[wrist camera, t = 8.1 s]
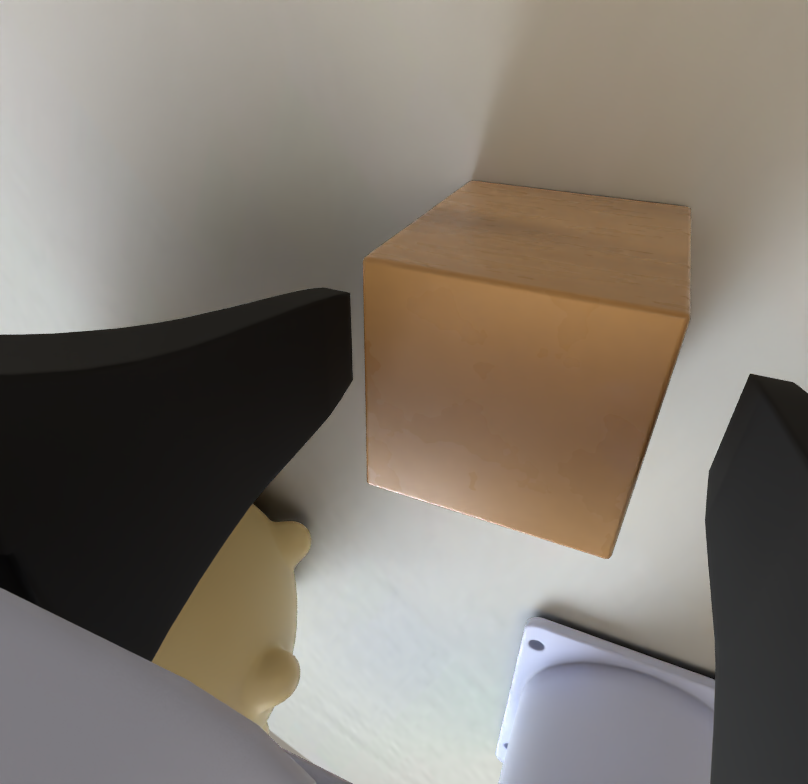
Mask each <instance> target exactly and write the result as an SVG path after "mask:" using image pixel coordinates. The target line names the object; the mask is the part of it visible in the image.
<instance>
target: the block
mask: <svg viewBox="0 0 808 784" xmlns="http://www.w3.org/2000/svg"><path fill="white" fill-rule="evenodd" d="M363 297H364V349H365V401H366V453H367V482H368V483H369V484H370V485H373V486H376V487H379V488H383V489H386V490H389V491H392V492H395V493H398V494H402V495H405V496H408V497H411V498H414V499H417V500H421V501H424V502H427V503H430V504H433V505H436V506H440V507H443V508H446V509H449V510H452V511H455V512H459V513H462V514H465V515H468V516H471V517H475V518H478V519H481V520H484V521H487V522H490V523H494V524H497V525H500V526H503V527H506V528H509V529H513V530H516V531H519V532H522V533H525V534H528V535H532V536H535V537H538V538H541V539H544V540H548V541H551V542H554V543H557V544H560V545H563V546H567V547H570V548H573V549H576V550H579V551H582V552H586V553H589V554H592V555H595V556H598V557H601V558H605V559H609V558H610V557H611V556H612V553H613V550H614V547H615V544H616V541H617V538H618V535H619V532H620V529H621V526H622V523H623V520H624V517H625V514H626V511H627V508H628V505H629V502H630V499H631V496H632V493H633V490H634V487H635V484H636V481H637V478H638V475H639V472H640V469H641V466H642V463H643V460H644V457H645V454H646V451H647V448H648V445H649V442H650V439H651V436H652V433H653V430H654V427H655V424H656V421H657V418H658V415H659V412H660V409H661V406H662V403H663V400H664V397H665V394H666V391H667V388H668V385H669V382H670V379H671V376H672V373H673V370H674V367H675V364H676V361H677V358H678V355H679V352H680V349H681V346H682V343H683V340H684V337H685V334H686V331H687V328H688V325H689V322H690V303H691V208H689V207H685V206H677V205H669V204H661V203H653V202H644V201H636V200H628V199H620V198H611V197H603V196H595V195H587V194H578V193H570V192H562V191H554V190H546V189H537V188H529V187H521V186H513V185H504V184H496V183H488V182H480V181H469V182H468V183H466V184H465V185H464V186H462V187H461V188H460V189H458V190H457V191H455V192H454V193H453V194H451V195H450V196H448V197H447V198H446V199H444V200H443V201H441V202H440V203H439V204H437V205H436V206H435V207H433V208H432V209H430V210H429V211H428V212H426V213H425V214H423V215H422V216H421V217H419V218H418V219H417V220H415V221H414V222H412V223H411V224H410V225H408V226H407V227H405V228H404V229H403V230H401V231H400V232H399V233H397V234H396V235H394V236H393V237H392V238H390V239H389V240H387V241H386V242H385V243H383V244H382V245H381V246H379V247H378V248H376V249H375V250H374V251H372V252H371V253H369V254H368V255H367V256H365V257H364V260H363Z"/></svg>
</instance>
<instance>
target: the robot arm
mask: <svg viewBox="0 0 808 784" xmlns="http://www.w3.org/2000/svg"><path fill="white" fill-rule="evenodd" d="M352 380H353V372H352V338H351V304H350V293H348V292H343V291H338V290H333V289H328V288H313V289H307V290H301V291H296V292H292V293H287V294H283V295H279V296H275V297H271V298H267V299H263V300H259V301H255V302H251V303H247V304H243V305H239V306H235V307H231V308H227V309H222V310H218V311H213V312H209V313H204V314H200V315H195V316H191V317H186V318H182V319H176V320H171V321H165V322H160V323H154V324H147V325H140V326H133V327H125V328H117V329H106V330H94V331H81V332H69V333H55V334H26V335H0V784H352V783H350V782H348V781H346V780H344V779H342V778H340V777H338V776H336V775H334V774H332V773H330V772H329V771H327V770H325V769H323V768H321V767H319V766H317V765H315V764H313V763H311V762H309V761H307V760H305V759H303V758H301V757H299V756H297V755H295V754H293V753H291V752H289V751H287V750H285V749H283V748H281V747H280V746H279V745H278V744H277V743H276V742H275V741H274V740H273V739H272V738H271V737H270V736H269V735H268V734H267V733H266V732H265V731H264V730H263V729H262V728H261V727H260V726H259V725H257V724H256V723H254V722H253V721H251V720H249V719H248V718H246V717H245V716H243V715H242V714H240V713H239V712H237V711H235V710H234V709H232V708H231V707H229V706H228V705H226V704H224V703H223V702H221V701H220V700H218V699H217V698H215V697H214V696H212V695H210V694H209V693H207V692H206V691H204V690H203V689H201V688H199V687H198V686H196V685H195V684H193V683H192V682H190V681H189V680H187V679H185V678H183V677H181V676H179V675H177V674H175V673H173V672H171V671H169V670H166V669H164V668H162V667H160V666H158V665H156V664H154V663H152V660H153V658H154V657H155V655H156V653H157V651H158V650H159V648H160V646H161V644H162V642H163V641H164V639H165V637H166V635H167V633H168V632H169V630H170V628H171V627H172V625H173V623H174V622H175V620H176V618H177V617H178V615H179V614H180V612H181V610H182V609H183V607H184V605H185V604H186V602H187V600H188V599H189V597H190V595H191V594H192V592H193V591H194V589H195V587H196V586H197V584H198V582H199V581H200V579H201V578H202V576H203V575H204V573H205V572H206V570H207V569H208V567H209V566H210V564H211V563H212V561H213V560H214V558H215V557H216V555H217V554H218V552H219V551H220V549H221V548H222V546H223V545H224V543H225V542H226V540H227V539H228V537H229V536H230V534H231V533H232V532H233V530H234V529H235V527H236V526H237V525H238V523H239V522H240V520H241V519H242V518H243V516H244V515H245V513H246V512H247V511H248V509H249V508H250V506H251V505H252V504H253V502H254V501H255V500H256V499H257V497H258V496H259V495H260V494H261V493H262V491H263V490H264V489H265V488H266V487H267V485H268V484H269V483H270V482H271V481H272V480H273V479H274V478H275V477H276V475H277V474H278V473H279V472H280V471H281V470H282V469H283V468H284V467H285V466H286V464H287V463H288V462H289V461H290V460H291V459H292V458H293V457H294V456H295V454H296V453H297V452H298V451H299V450H300V449H301V448H302V447H303V446H304V445H305V443H306V442H307V441H308V440H309V439H310V438H311V437H312V436H313V434H314V433H315V432H316V431H317V430H318V429H319V428H320V426H321V425H322V424H323V423H324V422H325V421H326V420H327V418H328V417H329V416H330V415H331V413H332V412H333V410H334V409H335V407H336V406H337V404H338V403H339V401H340V400H341V398H342V397H343V395H344V393H345V392H346V390H347V389H348V387H349V385H350V384H351V382H352ZM705 526H706V540H707V553H708V566H709V577H710V589H711V601H712V613H713V624H714V636H715V662H716V672H715V680H714V679H712V678H709V677H706V676H703V675H700V674H698V673H695V672H692V671H689V670H686V669H684V668H681V667H678V666H675V665H673V664H670V663H667V662H664V661H661V660H659V659H656V658H653V657H650V656H647V655H645V654H642V653H639V652H636V651H634V650H631V649H628V648H625V647H622V646H620V645H617V644H614V643H611V642H608V641H606V640H603V639H600V638H597V637H595V636H592V635H589V634H586V633H583V632H581V631H578V630H575V629H572V628H569V627H567V626H564V625H561V624H558V623H556V622H553V621H550V620H547V619H544V618H541V617H532V618H530V619H528V620H527V622H526V625H525V628H524V632H523V637H522V641H521V645H520V650H519V654H518V658H517V663H516V667H515V671H514V676H513V680H512V684H511V689H510V693H509V697H508V702H507V706H506V710H505V715H504V719H503V723H502V728H501V732H500V736H499V741H498V745H497V749H496V756H497V758H498V759H499V760H500V761H501V762H503V767H502V771H501V775H500V778H499V782H498V784H808V393H807V392H805V391H804V390H803V389H802V388H800V387H799V386H798V385H796V384H795V383H793V382H789V381H784V380H779V379H774V378H769V377H764V376H759V375H754V374H750V375H749V377H748V380H747V382H746V384H745V387H744V389H743V392H742V394H741V396H740V399H739V401H738V403H737V406H736V408H735V411H734V413H733V415H732V418H731V420H730V422H729V425H728V427H727V430H726V432H725V434H724V437H723V439H722V442H721V444H720V446H719V449H718V451H717V453H716V456H715V458H714V461H713V463H712V465H711V468H710V470H709V478H708V489H707V500H706V516H705Z"/></svg>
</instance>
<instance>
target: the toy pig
mask: <svg viewBox="0 0 808 784" xmlns="http://www.w3.org/2000/svg"><path fill="white" fill-rule="evenodd" d="M310 547H311V535H310V533H309V531H308V529H307V528H306V527H305V526H304V525H303V524H301V523H299V522H295V521H282V522H273V521H271V520H269V519H268V517H267V516H266V515H265V514H264V513H263V512H262V511H261V510H259V509H258V508H257V507H256V506H255V505H253V504H252V505H251V506H250V508H249V509H248V511H247V512H246V513H245V515H244V516H243V518H242V519H241V520H240V522H239V523H238V525H237V526H236V527H235V529H234V530H233V532H232V533H231V534H230V536H229V537H228V539H227V540H226V542H225V543H224V545H223V546H222V548H221V549H220V551H219V552H218V554H217V555H216V557H215V558H214V560H213V561H212V563H211V564H210V566H209V567H208V569H207V570H206V572H205V573H204V575H203V576H202V578H201V579H200V581H199V582H198V584H197V586H196V587H195V589H194V591H193V592H192V594H191V595H190V597H189V599H188V600H187V602H186V604H185V605H184V607H183V609H182V610H181V612H180V614H179V615H178V617H177V618H176V620H175V622H174V623H173V625H172V627H171V628H170V630H169V632H168V633H167V635H166V637H165V639H164V641H163V642H162V644H161V646H160V648H159V650H158V651H157V653H156V655H155V657H154V658H153V660H152V663H154V664H156V665H158V666H160V667H162V668H164V669H166V670H169V671H171V672H173V673H175V674H177V675H179V676H181V677H183V678H185V679H187V680H189V681H190V682H192V683H193V684H195V685H196V686H198V687H199V688H201V689H203V690H204V691H206V692H207V693H209V694H210V695H212V696H214V697H215V698H217V699H218V700H220V701H221V702H223V703H224V704H226V705H228V706H229V707H231V708H232V709H234V710H235V711H237V712H239V713H240V714H242V715H243V716H245V717H246V718H248V719H249V720H251V721H253V722H254V723H256V724H257V725H259V726H260V727H261V728H262V729H263V730H264V731H265V732H266V733H267V734H268V735H269V727H268V724H267V719H268V718H269V716H270V714H271V712H272V710H273V708H274V706H276V705H278V704H280V703H282V702H283V701H285V700H286V699H287V698H289V697H290V696H291V694H292V693H293V692H294V691H295V689H296V687H297V685H298V682H299V679H300V666H299V663H298V661H297V659H296V658H295V656H294V655H293V649H294V644H295V637H296V627H297V592H296V583H295V576H294V569H295V567H296V565H297V564H298V563H299V562H300V561H301V560H302V559H303V558H304V557H305V556H306V555H307V553H308V552H309V550H310Z"/></svg>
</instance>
